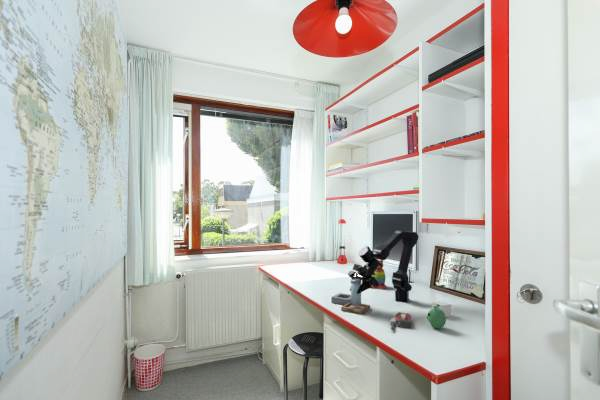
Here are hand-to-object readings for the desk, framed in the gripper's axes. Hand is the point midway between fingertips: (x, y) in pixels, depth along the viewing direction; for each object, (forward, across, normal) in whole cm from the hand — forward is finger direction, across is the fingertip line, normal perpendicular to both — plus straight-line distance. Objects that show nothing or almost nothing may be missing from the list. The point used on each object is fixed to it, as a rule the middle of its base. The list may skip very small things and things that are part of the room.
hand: (353, 292), depth 163 cm
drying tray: (+6, 0, +7) cm, 9 cm away
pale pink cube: (-16, +27, +29) cm, 43 cm away
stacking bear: (-25, -30, +38) cm, 54 cm away
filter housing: (+3, -14, +9) cm, 17 cm away
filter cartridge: (+4, 0, +6) cm, 7 cm away
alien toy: (-4, +37, +17) cm, 41 cm away
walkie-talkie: (+3, +27, +10) cm, 29 cm away
